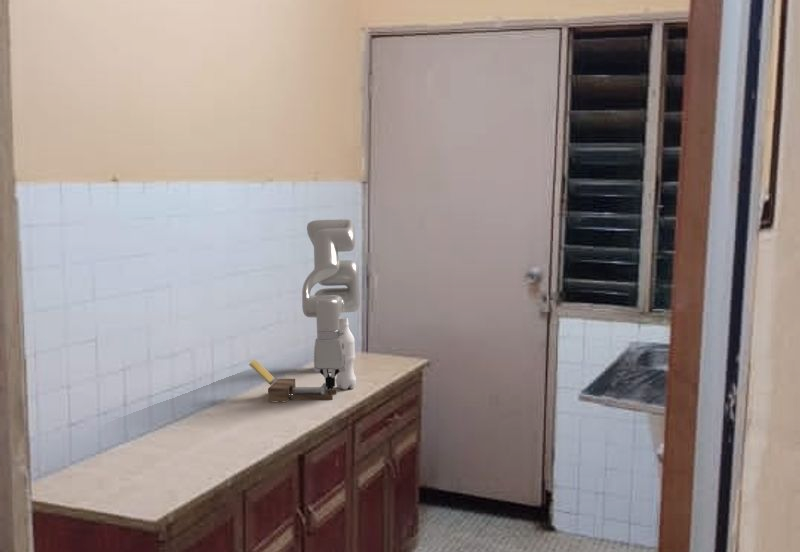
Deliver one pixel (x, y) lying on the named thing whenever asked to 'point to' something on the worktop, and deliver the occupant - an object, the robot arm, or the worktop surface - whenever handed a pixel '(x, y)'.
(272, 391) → the block
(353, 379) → the water bottle
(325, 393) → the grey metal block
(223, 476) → the worktop surface
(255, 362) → the yellow grey-edged tile
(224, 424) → the worktop surface
